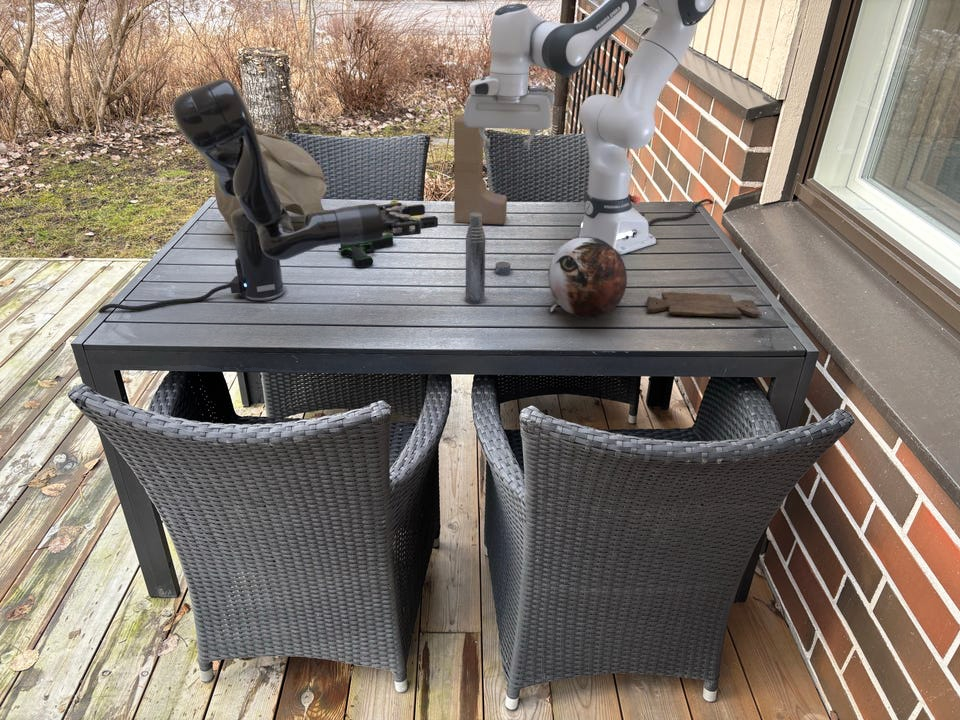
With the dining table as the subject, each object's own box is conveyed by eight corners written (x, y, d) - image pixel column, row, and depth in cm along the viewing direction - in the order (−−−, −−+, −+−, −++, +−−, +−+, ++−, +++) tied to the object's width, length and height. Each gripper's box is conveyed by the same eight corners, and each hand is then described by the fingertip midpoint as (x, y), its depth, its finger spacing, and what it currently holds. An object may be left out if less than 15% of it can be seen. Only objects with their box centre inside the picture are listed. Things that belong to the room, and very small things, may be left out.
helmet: (343, 239, 203) (337, 131, 188) (240, 258, 188) (224, 142, 173) (305, 212, 222) (297, 112, 207) (209, 227, 207) (192, 120, 192)
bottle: (465, 303, 168) (465, 217, 157) (465, 295, 171) (466, 210, 161) (484, 304, 168) (485, 217, 157) (484, 295, 171) (486, 211, 161)
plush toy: (524, 268, 172) (583, 208, 164) (577, 314, 177) (637, 258, 168) (521, 307, 153) (588, 241, 144) (581, 357, 157) (649, 296, 149)
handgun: (350, 260, 182) (332, 238, 193) (351, 270, 183) (333, 248, 194) (409, 250, 188) (388, 230, 200) (409, 261, 190) (389, 240, 201)
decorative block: (503, 225, 212) (507, 121, 197) (454, 222, 214) (453, 119, 199) (506, 217, 219) (509, 115, 204) (458, 214, 221) (458, 113, 205)
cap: (509, 275, 182) (509, 267, 181) (494, 274, 182) (494, 267, 181) (510, 269, 185) (511, 262, 184) (496, 268, 185) (496, 261, 184)
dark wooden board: (642, 297, 172) (648, 316, 163) (643, 291, 171) (649, 310, 162) (751, 300, 171) (762, 319, 162) (752, 293, 170) (764, 313, 161)
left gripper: (364, 217, 141) (441, 207, 146) (347, 196, 152) (419, 188, 158) (367, 253, 145) (442, 242, 150) (350, 230, 156) (420, 221, 161)
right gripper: (555, 84, 162) (551, 145, 169) (465, 81, 164) (465, 142, 171) (555, 89, 157) (551, 152, 164) (462, 86, 158) (462, 149, 165)
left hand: (430, 215), depth 154 cm, fingers open, 8 cm apart
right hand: (506, 147), depth 167 cm, fingers open, 8 cm apart
